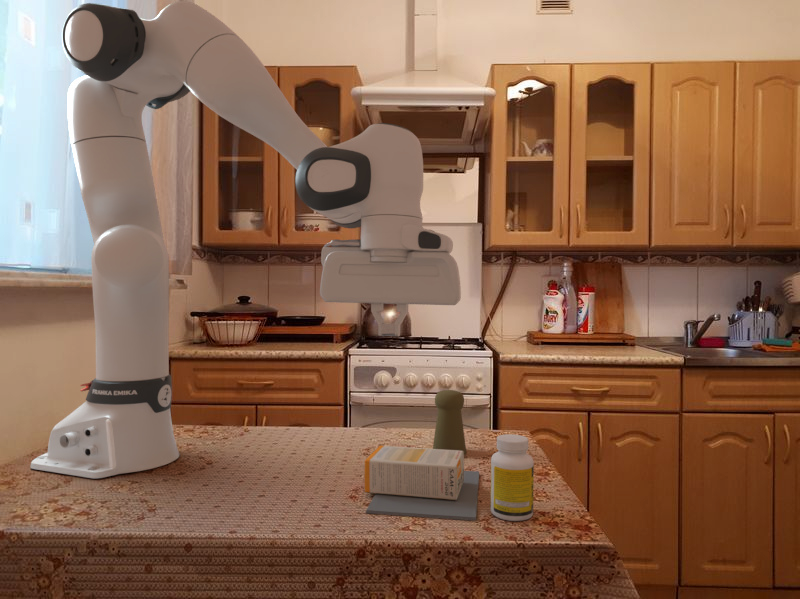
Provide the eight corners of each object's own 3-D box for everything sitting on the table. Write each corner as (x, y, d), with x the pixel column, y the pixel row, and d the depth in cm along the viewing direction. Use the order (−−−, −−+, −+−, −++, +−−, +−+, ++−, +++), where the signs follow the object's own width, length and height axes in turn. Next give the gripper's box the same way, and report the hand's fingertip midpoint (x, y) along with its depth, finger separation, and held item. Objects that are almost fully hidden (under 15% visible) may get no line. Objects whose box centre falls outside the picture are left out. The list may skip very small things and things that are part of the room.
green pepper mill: (473, 453, 98) (473, 391, 97) (446, 459, 94) (447, 395, 94) (451, 445, 103) (451, 386, 102) (425, 451, 99) (425, 389, 99)
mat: (366, 513, 71) (366, 510, 71) (391, 469, 89) (391, 466, 89) (475, 520, 69) (475, 517, 69) (479, 474, 87) (479, 471, 87)
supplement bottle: (540, 521, 69) (540, 442, 69) (498, 524, 68) (499, 444, 68) (523, 504, 74) (524, 431, 74) (484, 507, 73) (485, 433, 73)
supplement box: (363, 494, 77) (457, 502, 74) (363, 459, 77) (457, 466, 74) (379, 475, 85) (465, 482, 82) (379, 444, 85) (465, 449, 82)
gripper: (314, 237, 78) (312, 334, 78) (460, 237, 75) (458, 339, 75) (328, 241, 84) (326, 332, 84) (462, 242, 81) (460, 336, 81)
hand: (389, 335), depth 80 cm, fingers closed
